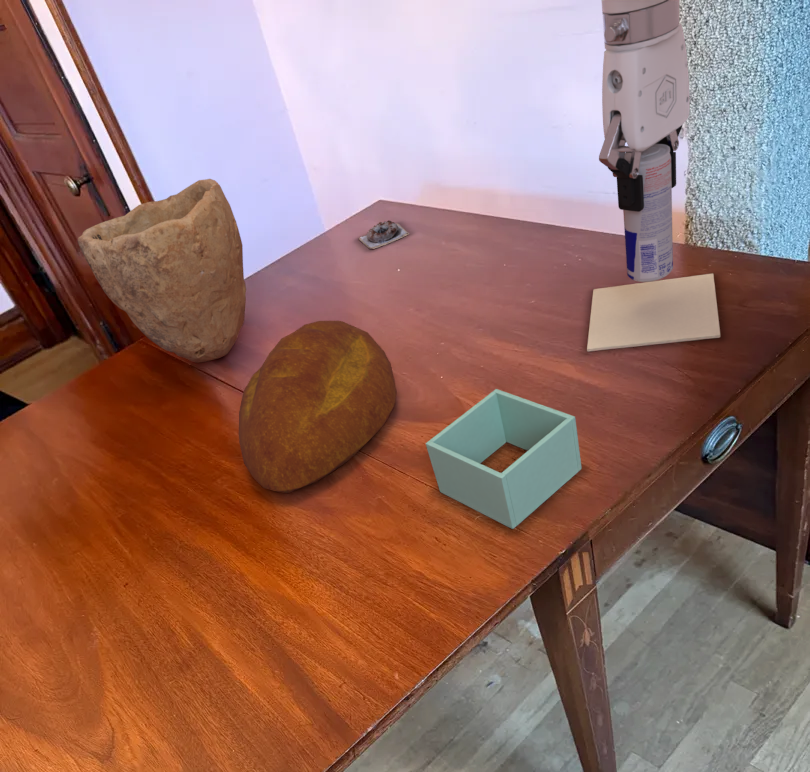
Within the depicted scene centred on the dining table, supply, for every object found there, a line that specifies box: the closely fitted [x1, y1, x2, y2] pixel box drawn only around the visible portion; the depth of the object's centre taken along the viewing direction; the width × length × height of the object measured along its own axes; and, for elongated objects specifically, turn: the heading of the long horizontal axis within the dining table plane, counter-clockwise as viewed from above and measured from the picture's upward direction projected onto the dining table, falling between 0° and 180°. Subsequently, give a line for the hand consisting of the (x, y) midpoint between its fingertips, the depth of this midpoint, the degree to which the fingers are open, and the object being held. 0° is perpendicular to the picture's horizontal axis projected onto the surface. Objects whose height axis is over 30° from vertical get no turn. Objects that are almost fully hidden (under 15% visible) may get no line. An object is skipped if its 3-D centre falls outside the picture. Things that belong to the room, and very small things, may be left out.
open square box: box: [425, 388, 582, 530], centre depth 80 cm, size 11×11×7 cm
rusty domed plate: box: [358, 220, 410, 250], centre depth 143 cm, size 8×8×2 cm
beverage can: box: [622, 144, 674, 283], centre depth 91 cm, size 6×6×15 cm
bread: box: [238, 320, 398, 494], centre depth 97 cm, size 21×33×12 cm, turn 163°
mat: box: [586, 272, 721, 353], centre depth 100 cm, size 16×16×1 cm
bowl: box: [77, 178, 247, 364], centre depth 117 cm, size 22×22×25 cm
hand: (647, 196), depth 90 cm, fingers closed on beverage can, 5 cm apart
